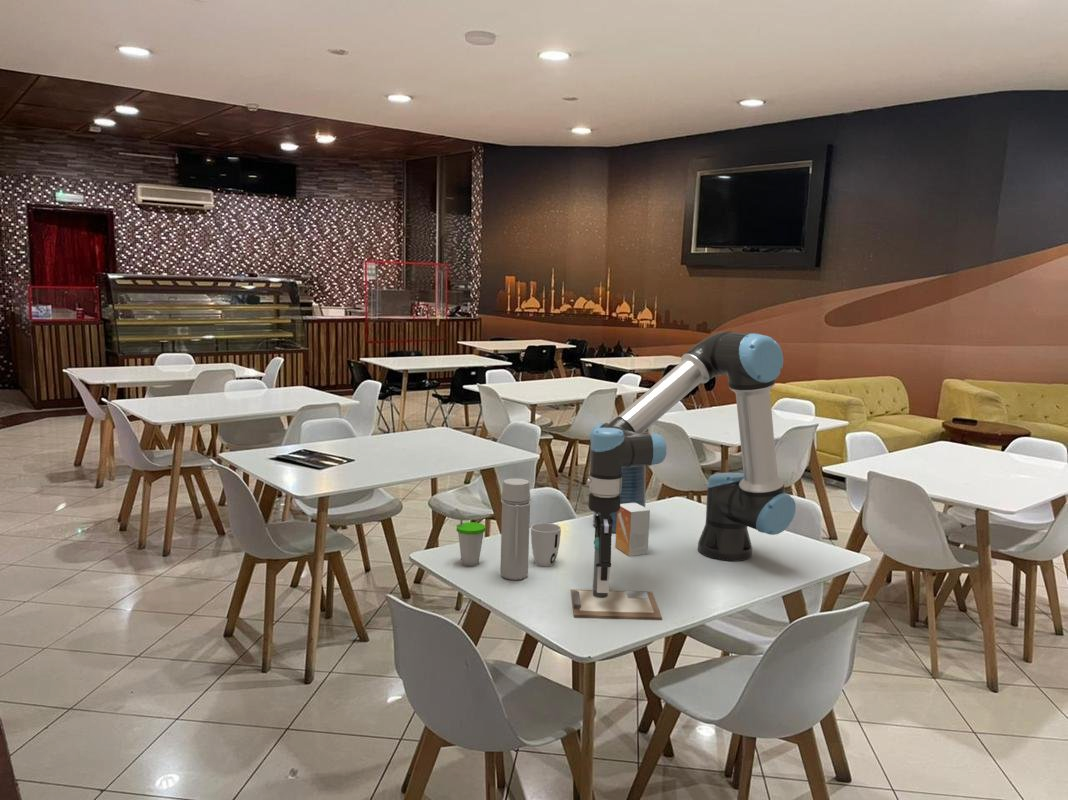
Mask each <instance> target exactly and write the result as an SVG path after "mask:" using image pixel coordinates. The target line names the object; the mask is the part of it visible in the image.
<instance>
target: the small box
mask: <svg viewBox="0 0 1068 800" xmlns="http://www.w3.org/2000/svg"><path fill="white" fill-rule="evenodd" d="M650 512H651V510H650V509H648V508H647V507H646V506H645V507H643V506H641V505H639V504H637V503H625V504H620V510H619V511H618V512H617V524H616V533H615V543H614V544H615V548H616V549H618V550H620V551H621V552H623V553H624V554H625V555H627V556H628V557H634V556H643V555H648V554H649V535H650V534H649V533H650V515H651V513H650Z"/></svg>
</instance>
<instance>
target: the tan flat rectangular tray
mask: <svg viewBox="0 0 1068 800" xmlns="http://www.w3.org/2000/svg"><path fill="white" fill-rule="evenodd" d="M570 597H571V606H572V612H573V614H572V615H573V618H575V619H576V618H578V619H579V618H581V619H585V618H586V619H618V620H619V619H621V620H653V621H654V620H656V621H657V620H659V621H660V620H661V621H662V620H663V616H662V614H661V611H660V609H659V606H658V603H657V601H656V598H655V595H654V594H653V591H647V590H646V591H642V590H640V591H639V590H637V591H636V590H610V589H609V593H608V596H607V597H605V598H598V597H595V596H593V589H572V588H571V589H570Z"/></svg>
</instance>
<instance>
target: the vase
mask: <svg viewBox="0 0 1068 800" xmlns="http://www.w3.org/2000/svg"><path fill="white" fill-rule="evenodd" d="M646 469H647V466H636V467H626V468H622V485H621V493H620V494H619V495H620V496H621V501H620V504H625V503H637V504H639V505H641V506H643V507H645V508H646V497H647V495H646V471H647V470H646ZM595 515H596V512H594V511H593V516H592V523H593V525H594V526H595ZM610 516H612V519H613V525H612V534H613V533H614V534H616V524H617V512H615V513H611V514H610Z"/></svg>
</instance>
